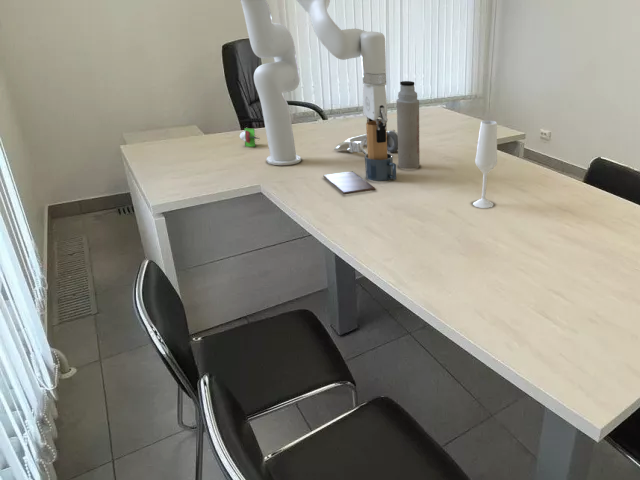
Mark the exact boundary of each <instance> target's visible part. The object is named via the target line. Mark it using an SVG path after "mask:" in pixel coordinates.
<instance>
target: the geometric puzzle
mask: <svg viewBox="0 0 640 480" xmlns="http://www.w3.org/2000/svg"><path fill="white" fill-rule="evenodd" d="M255 133H256V130H255V128H249V127H244V128H243V130H242V131H241V132H240V134H239V138H240V140H241V141H243V142H244V146H245V147H248V148H250V147H251V148H256V146H257V144H258V143H256V140H261V138H260V137H257V135H258V136H259V134H257V133H256V134H255Z"/></svg>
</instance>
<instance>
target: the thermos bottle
mask: <svg viewBox="0 0 640 480" xmlns="http://www.w3.org/2000/svg"><path fill="white" fill-rule="evenodd" d="M399 84H400V91H398V92H397V93H398V94H397V99H396V128H397V129H396V130H397V131H396V132H397V135H398V151H397V159H398V160H397V164H398V168H401V169H404V170H405V169H406V170H413V169H418V168H419V167H420V166H421V165H420V162H421V161H420V100H419V99H418V92H417V91H416V90H415V82H414V81H411V80H402V81H400V82H399Z"/></svg>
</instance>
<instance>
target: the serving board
mask: <svg viewBox="0 0 640 480" xmlns="http://www.w3.org/2000/svg"><path fill="white" fill-rule="evenodd" d="M322 176H323V178H324V179H325V180H326V181H327V182H329V183H330V184H331V185H332V186H333V187H334V188H336V189H337V190H338V191H339V192H340V193H342V195H349V194H357V193H362V192H369V191H375V190H376V187H375V186H373V185H372V184H371V183H369V182H368V181H367V180H365V179H364V178H362V177H361V176H360V175H359V174H357V173H356V172H355V171H353V170H352V171H344V172H336V173H329V174H323V175H322Z"/></svg>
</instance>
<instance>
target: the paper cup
mask: <svg viewBox="0 0 640 480" xmlns="http://www.w3.org/2000/svg"><path fill="white" fill-rule="evenodd" d="M381 122H382V121H381ZM379 125H380V122H379ZM365 126H366V134H367V145H366V151H367V154H368V158H369V159H374V160H383V159H387V153H388V151H387V132H388V131H387V130H388V129H387V125H386V142H382V143H378V142H377V136H376V130H377V125H376V121H369V122H367V121H366V123H365Z"/></svg>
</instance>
